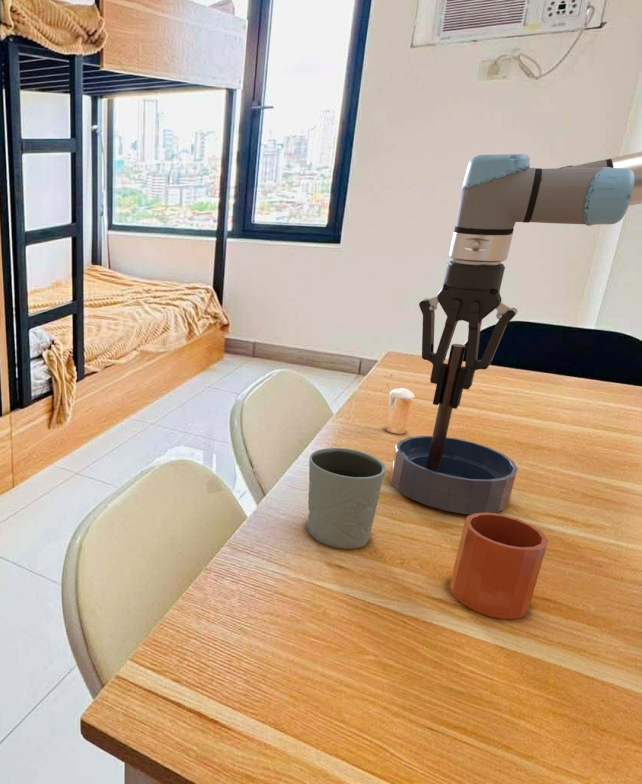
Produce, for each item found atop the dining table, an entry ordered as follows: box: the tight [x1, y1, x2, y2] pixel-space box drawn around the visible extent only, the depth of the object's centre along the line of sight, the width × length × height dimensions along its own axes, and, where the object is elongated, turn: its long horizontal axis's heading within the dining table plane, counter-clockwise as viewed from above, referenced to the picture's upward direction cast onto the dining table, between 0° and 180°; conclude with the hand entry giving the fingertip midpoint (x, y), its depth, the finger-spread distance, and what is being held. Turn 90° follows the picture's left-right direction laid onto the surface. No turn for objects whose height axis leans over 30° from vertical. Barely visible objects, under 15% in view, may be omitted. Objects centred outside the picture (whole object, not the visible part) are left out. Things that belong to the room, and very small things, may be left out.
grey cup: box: [307, 447, 387, 550], centre depth 93 cm, size 10×10×12 cm
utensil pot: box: [449, 512, 549, 620], centre depth 79 cm, size 8×8×10 cm
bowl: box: [389, 435, 518, 515], centre depth 105 cm, size 17×17×6 cm
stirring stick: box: [426, 343, 467, 471], centre depth 104 cm, size 2×2×22 cm
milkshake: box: [386, 383, 415, 435], centre depth 129 cm, size 4×5×10 cm
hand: (446, 404), depth 104 cm, fingers closed on stirring stick, 2 cm apart
